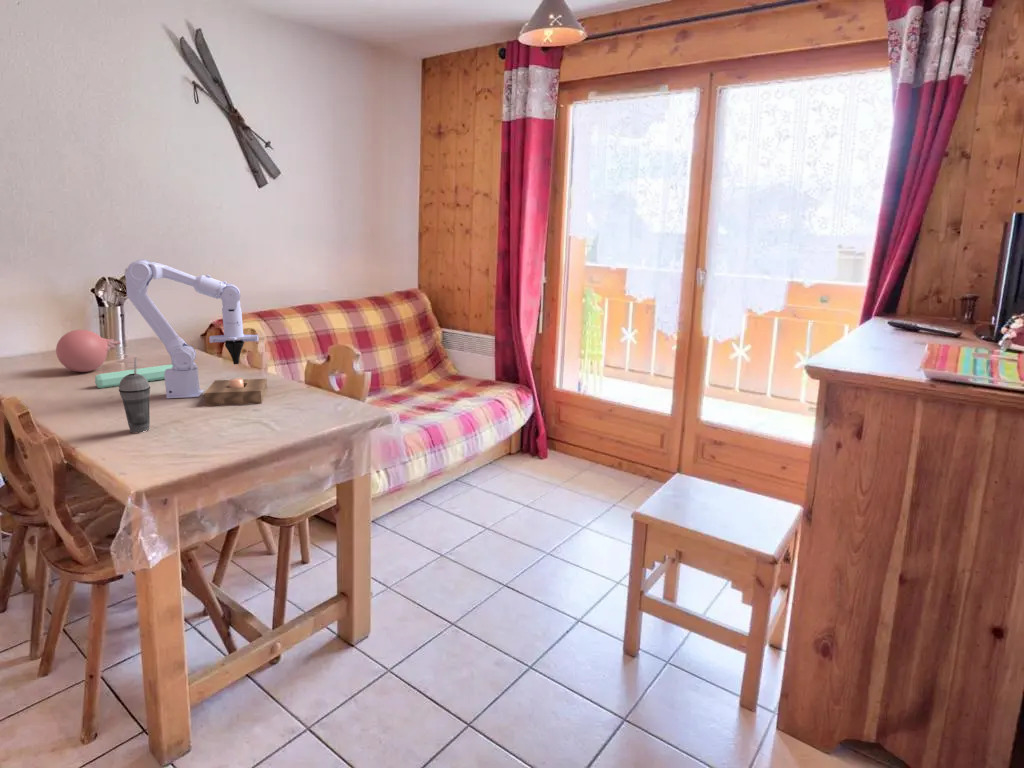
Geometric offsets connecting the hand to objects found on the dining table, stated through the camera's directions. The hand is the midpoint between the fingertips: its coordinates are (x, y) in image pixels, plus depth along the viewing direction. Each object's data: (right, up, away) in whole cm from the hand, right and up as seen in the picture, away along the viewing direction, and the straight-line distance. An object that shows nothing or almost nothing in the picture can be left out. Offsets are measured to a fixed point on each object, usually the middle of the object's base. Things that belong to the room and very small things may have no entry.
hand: (236, 363), depth 209 cm
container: (-39, -7, +11) cm, 41 cm away
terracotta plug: (+3, -11, -5) cm, 13 cm away
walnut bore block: (+3, -11, -5) cm, 12 cm away
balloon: (-64, -2, +26) cm, 69 cm away
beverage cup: (-10, -19, -38) cm, 44 cm away
